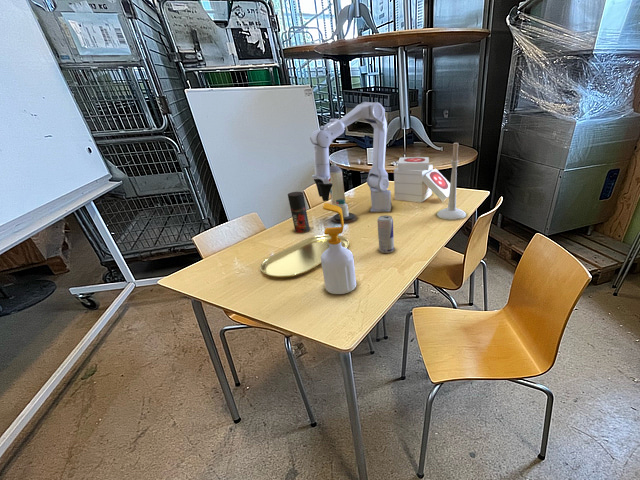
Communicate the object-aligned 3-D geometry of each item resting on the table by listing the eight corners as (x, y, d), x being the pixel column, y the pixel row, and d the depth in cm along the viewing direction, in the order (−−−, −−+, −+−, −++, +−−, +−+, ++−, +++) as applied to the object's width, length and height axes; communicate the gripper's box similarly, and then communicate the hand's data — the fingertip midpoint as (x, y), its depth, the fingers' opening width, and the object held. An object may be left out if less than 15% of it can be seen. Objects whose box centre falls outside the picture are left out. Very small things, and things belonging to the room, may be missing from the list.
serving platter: (360, 244, 125) (359, 240, 124) (289, 285, 100) (288, 281, 99) (322, 235, 133) (322, 231, 133) (248, 271, 109) (247, 267, 108)
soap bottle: (327, 280, 103) (314, 200, 89) (356, 278, 103) (348, 198, 90) (324, 296, 95) (309, 211, 82) (356, 293, 96) (346, 209, 82)
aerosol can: (332, 203, 168) (326, 161, 157) (346, 203, 168) (341, 160, 158) (331, 207, 162) (325, 164, 152) (345, 207, 163) (340, 163, 152)
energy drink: (396, 248, 121) (395, 215, 115) (391, 254, 117) (389, 221, 111) (382, 246, 123) (380, 214, 116) (376, 252, 119) (374, 219, 112)
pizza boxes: (445, 206, 160) (447, 166, 151) (389, 199, 171) (387, 162, 161) (456, 195, 175) (459, 158, 165) (404, 190, 186) (404, 155, 176)
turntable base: (358, 215, 152) (358, 212, 152) (354, 223, 143) (354, 221, 143) (335, 215, 153) (334, 212, 153) (329, 223, 144) (329, 221, 143)
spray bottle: (356, 213, 151) (354, 196, 147) (352, 220, 144) (350, 203, 139) (336, 213, 152) (334, 196, 148) (331, 220, 144) (329, 203, 140)
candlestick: (463, 210, 155) (469, 139, 138) (467, 219, 144) (474, 144, 128) (436, 210, 155) (438, 139, 139) (438, 220, 145) (441, 144, 128)
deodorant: (311, 227, 141) (305, 191, 132) (307, 233, 136) (300, 195, 127) (298, 227, 141) (290, 191, 133) (292, 232, 136) (285, 195, 128)
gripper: (308, 161, 137) (311, 194, 144) (315, 166, 125) (317, 203, 132) (325, 161, 139) (327, 194, 146) (333, 166, 128) (334, 202, 135)
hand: (323, 198), depth 139 cm, fingers open, 7 cm apart
